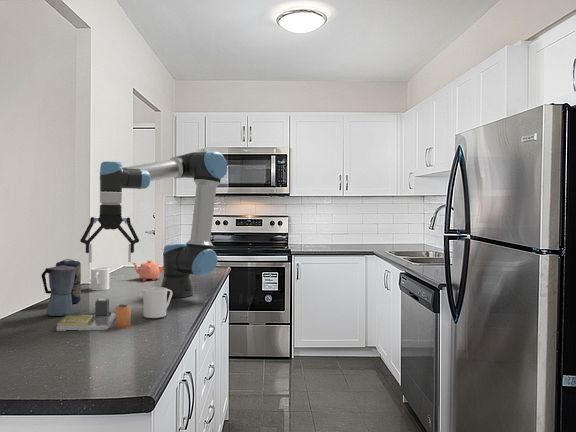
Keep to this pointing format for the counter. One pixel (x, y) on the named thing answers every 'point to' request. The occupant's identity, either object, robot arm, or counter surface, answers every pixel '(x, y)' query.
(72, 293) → the canister
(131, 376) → the counter surface
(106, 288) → the mug
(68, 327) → the panel
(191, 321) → the counter surface
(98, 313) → the breaker slider
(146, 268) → the teapot
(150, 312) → the mug
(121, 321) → the cap
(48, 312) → the moka pot
